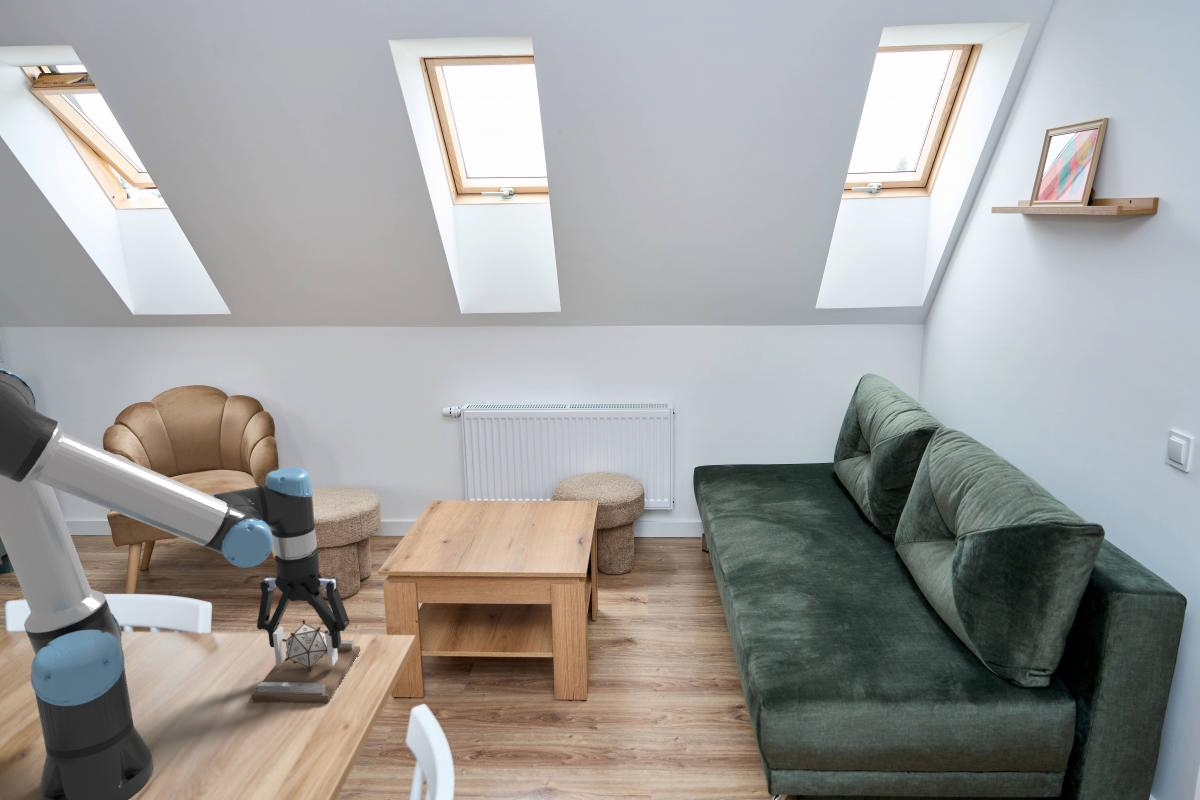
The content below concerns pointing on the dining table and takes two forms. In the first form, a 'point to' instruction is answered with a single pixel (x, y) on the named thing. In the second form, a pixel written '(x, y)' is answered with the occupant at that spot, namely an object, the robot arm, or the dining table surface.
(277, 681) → the loading pallet
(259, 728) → the dining table surface
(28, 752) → the dining table surface
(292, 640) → the game die
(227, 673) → the dining table surface
